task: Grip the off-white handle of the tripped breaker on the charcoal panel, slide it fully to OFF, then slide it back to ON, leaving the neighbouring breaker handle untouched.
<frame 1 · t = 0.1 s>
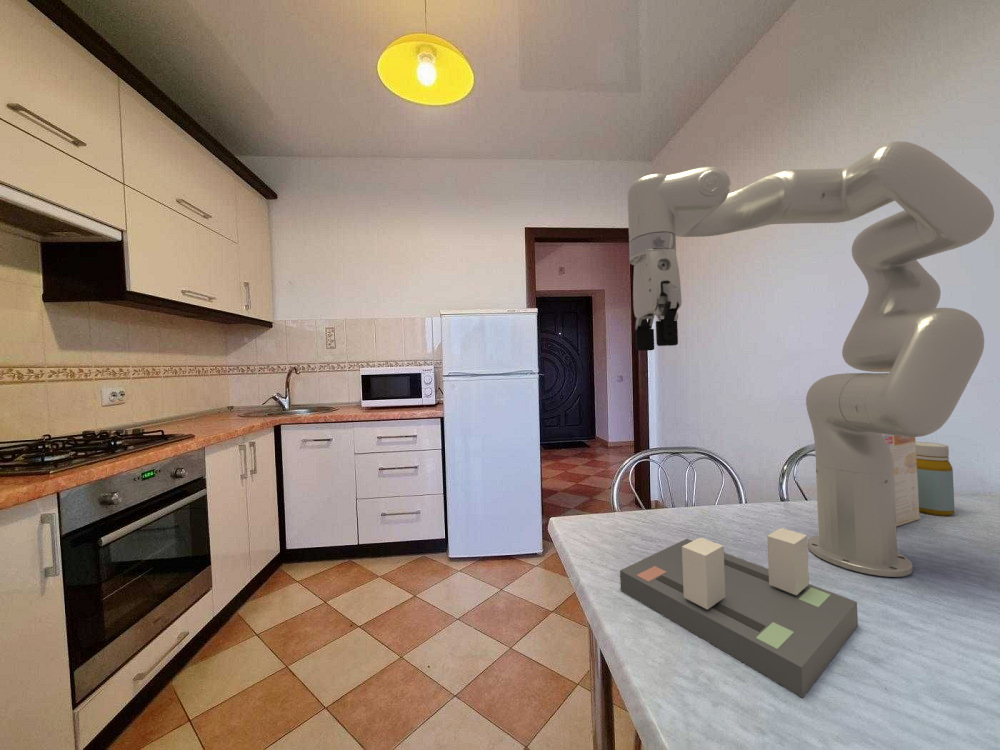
hand: (655, 348, 62), 37 cm above the table, tool pointing down, fingers open, 9 cm apart
coffeecake box: (879, 520, 76), on the table
bottle: (929, 511, 80), on the table
breaker panel: (728, 606, 49), on the table
tripped breaker: (703, 571, 46), point 7 cm above the table, slide at 5.0 cm
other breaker: (788, 559, 48), point 7 cm above the table, slide at 10.0 cm
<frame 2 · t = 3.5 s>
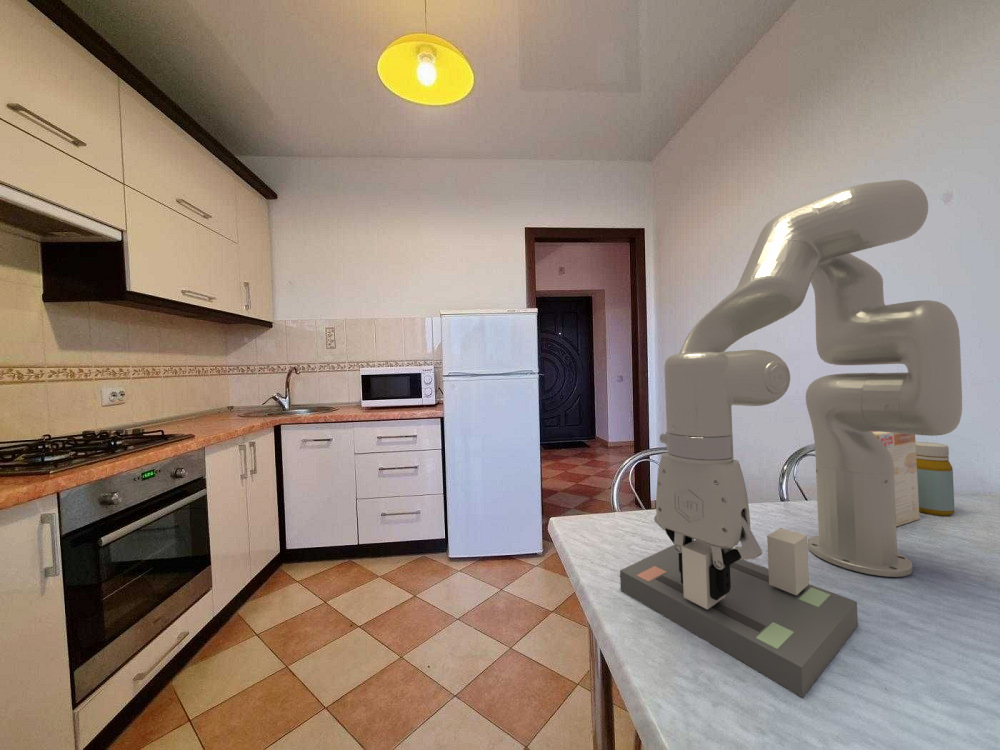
hand: (704, 586, 46), 5 cm above the table, tool pointing down, fingers closed on tripped breaker, 3 cm apart
tripped breaker: (703, 571, 46), point 7 cm above the table, slide at 5.0 cm, touching gripper
everything else where it was.
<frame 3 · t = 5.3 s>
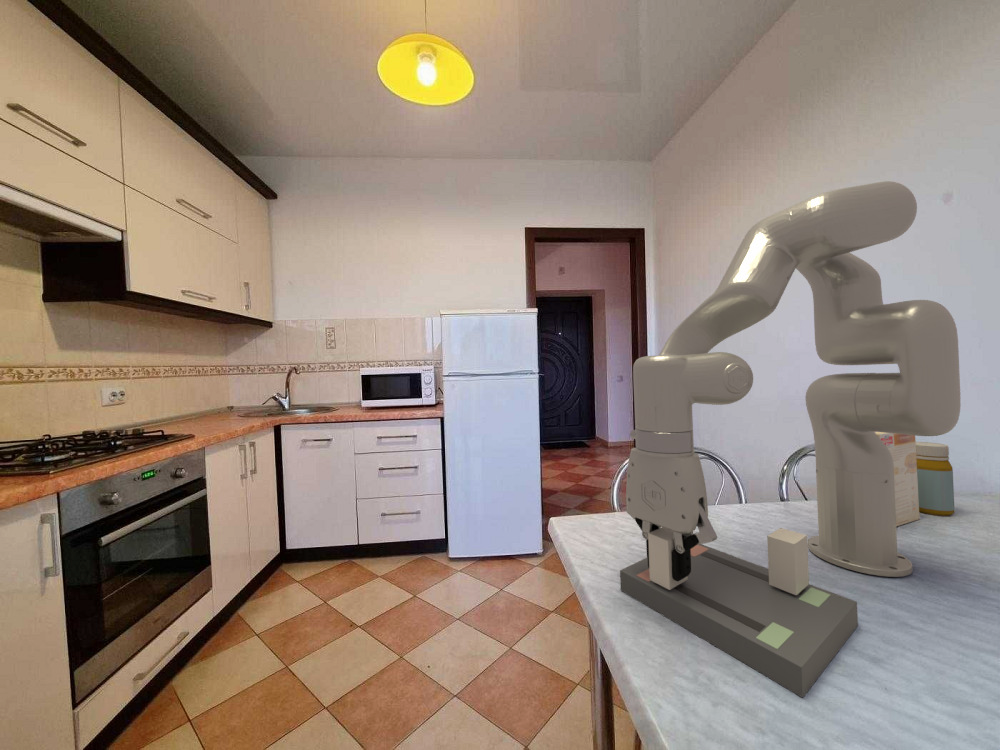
hand: (668, 570, 50), 5 cm above the table, tool pointing down, fingers closed on tripped breaker, 3 cm apart
tripped breaker: (667, 556, 50), point 7 cm above the table, slide at 0.0 cm, touching gripper
everything else where it was.
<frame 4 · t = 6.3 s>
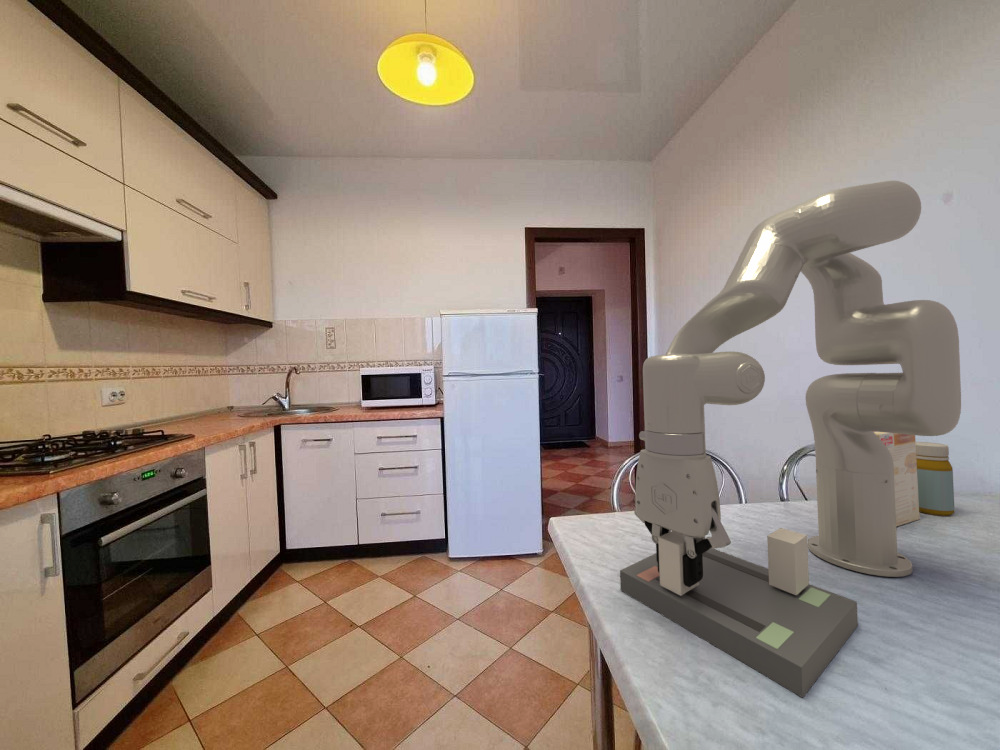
hand: (679, 575, 49), 5 cm above the table, tool pointing down, fingers closed on tripped breaker, 3 cm apart
tripped breaker: (678, 560, 49), point 7 cm above the table, slide at 1.6 cm, touching gripper
everything else where it was.
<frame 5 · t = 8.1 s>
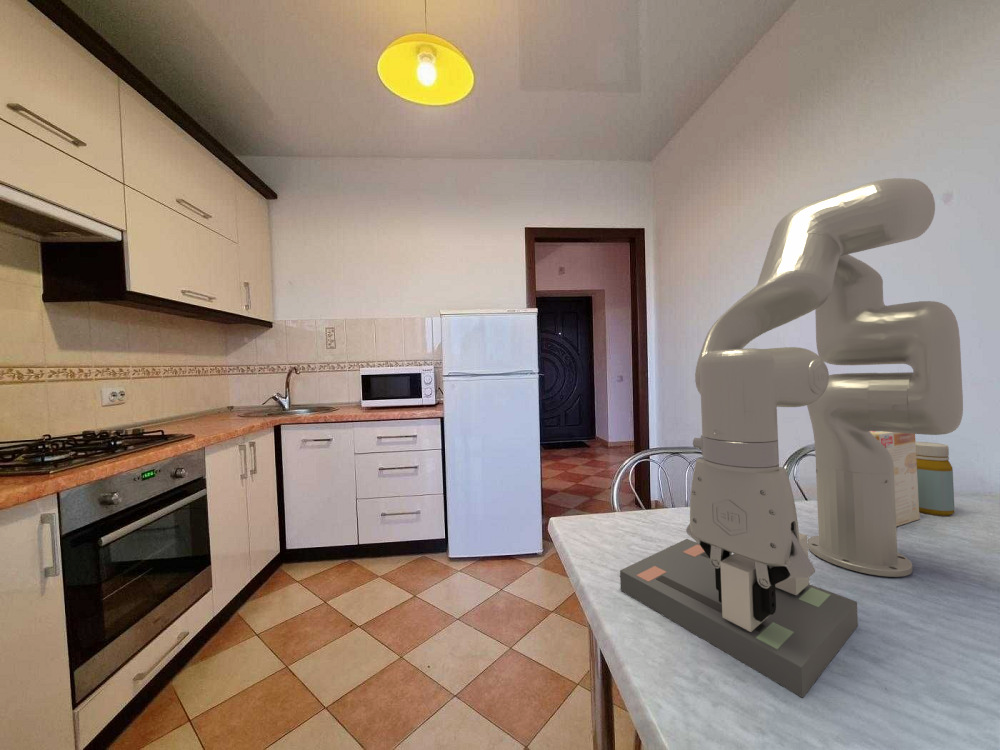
hand: (744, 606, 42), 5 cm above the table, tool pointing down, fingers closed on tripped breaker, 3 cm apart
tripped breaker: (744, 589, 42), point 7 cm above the table, slide at 9.7 cm, touching gripper
everything else where it was.
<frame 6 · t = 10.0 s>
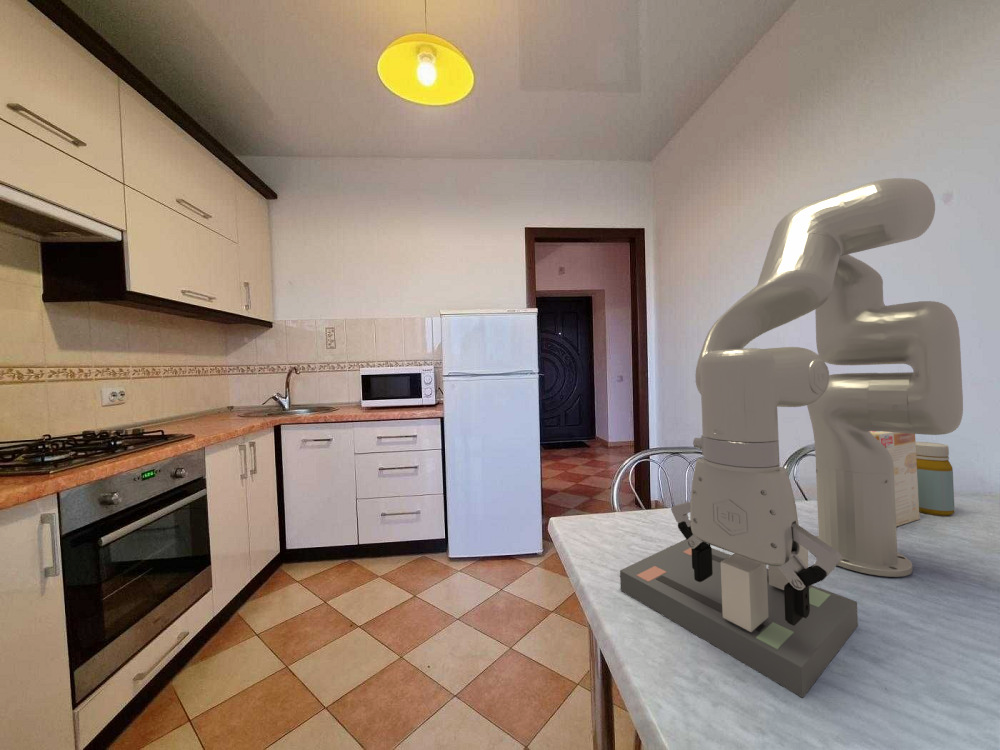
hand: (745, 596, 42), 6 cm above the table, tool pointing down, fingers open, 9 cm apart
tripped breaker: (744, 589, 42), point 7 cm above the table, slide at 9.8 cm
everything else where it was.
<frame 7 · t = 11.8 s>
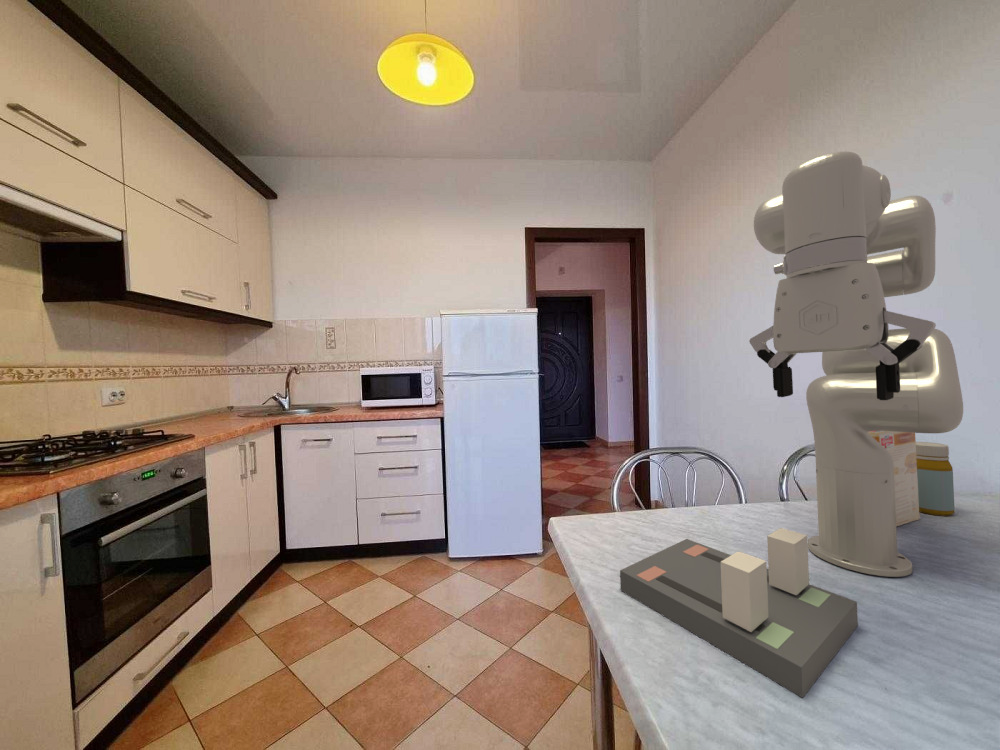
hand: (830, 397, 45), 29 cm above the table, tool pointing down, fingers open, 9 cm apart
nothing on the table moved.
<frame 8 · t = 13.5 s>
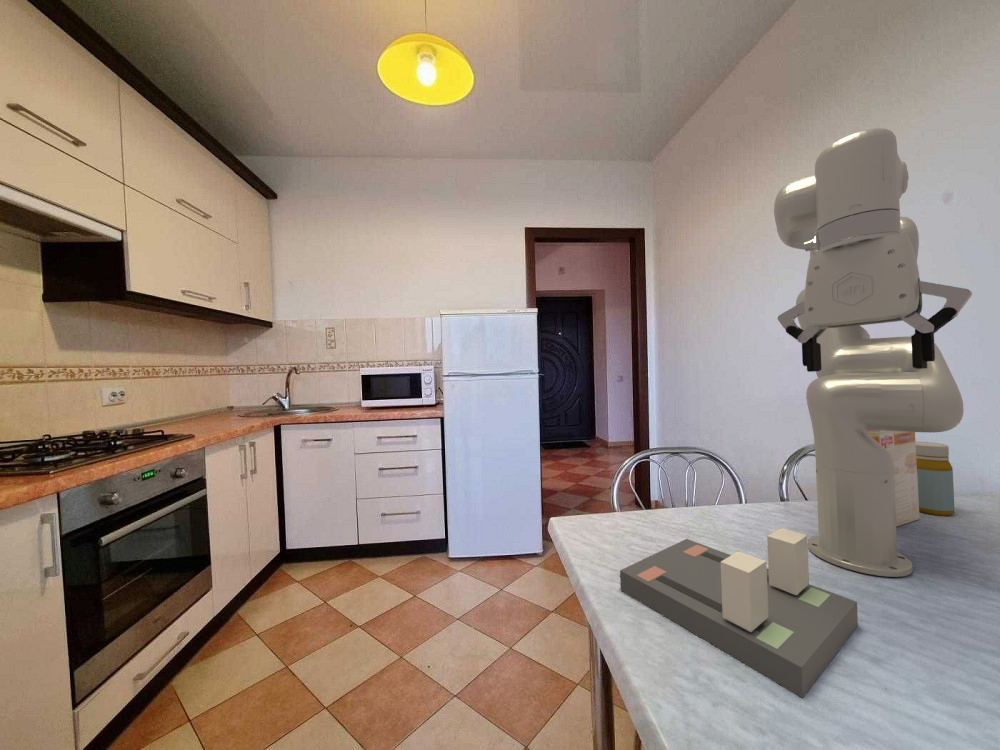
hand: (862, 370, 45), 32 cm above the table, tool pointing down, fingers open, 9 cm apart
nothing on the table moved.
at the end: tripped breaker slide at 9.8 cm; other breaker slide at 10.0 cm; the gripper is holding nothing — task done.
